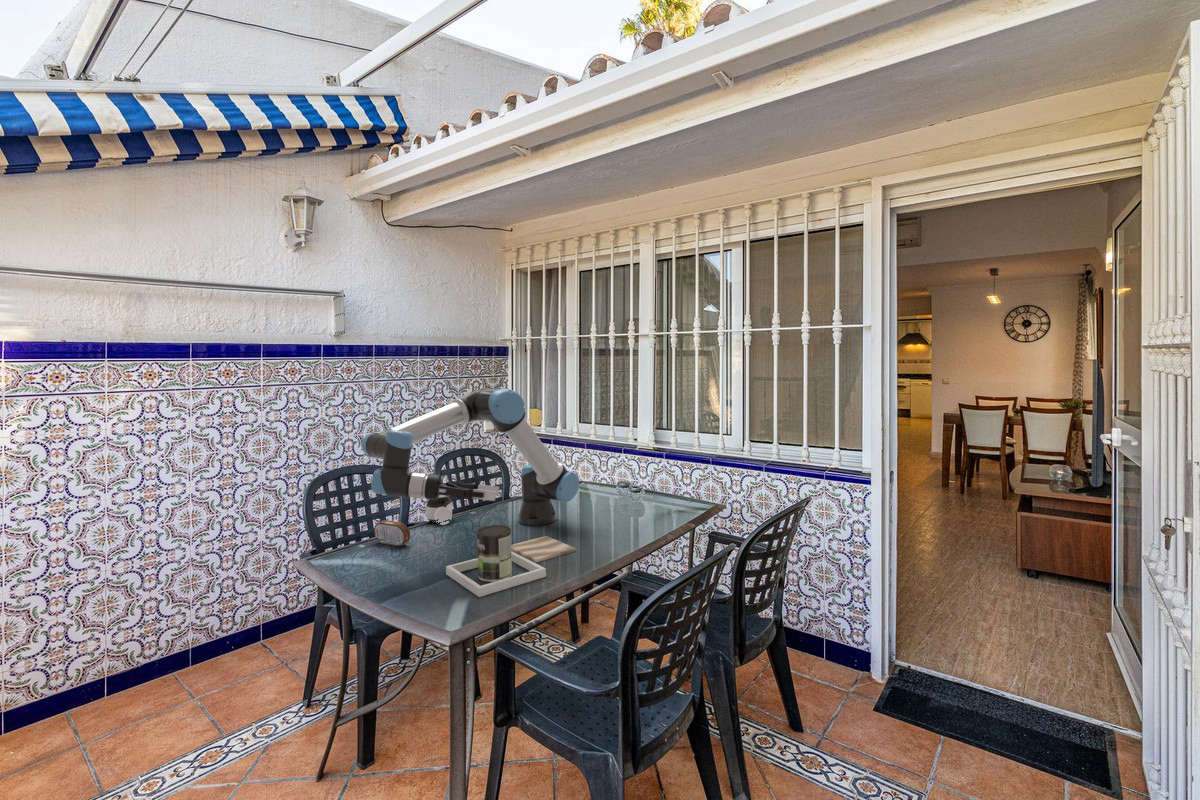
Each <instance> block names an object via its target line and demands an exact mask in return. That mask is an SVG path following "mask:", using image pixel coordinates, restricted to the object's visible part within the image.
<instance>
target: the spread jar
mask: <svg viewBox="0 0 1200 800" xmlns="http://www.w3.org/2000/svg"><path fill="white" fill-rule="evenodd" d="M425 506H426V507H425V511H426V512H425V513H426V519H427V520H428V521H429V522H431V521H435V520H437V519H439V520H438V521H435V522H431V523H432V524H438V523H439V522H442V523H440V524H439V525H441V526H445V525H447V524H449V523H450V522H449V521H446V522H443V521H445V520H448V519H450V520H451V521H452V518H453V504H452V500H451V498H450V496H445V495H440V496H439V498H438V499H437V500H431V499H427V502H426V505H425ZM437 522H438V523H437Z"/></svg>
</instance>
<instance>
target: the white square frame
mask: <svg viewBox="0 0 1200 800" xmlns="http://www.w3.org/2000/svg"><path fill="white" fill-rule="evenodd" d="M511 556H512V563H514V564H516V565H517V566H520V567H522V568H524V569H525V570H527V572H523V573H520V574H516V575H512V576H511V577H509V578H506V579H503V580H499V581H496V582H488V583H486V584H482V585H480V584H478V583H477V582H476V581H474V580H473V579H472V578H470V577H468V576H466V575H465V574H464V573H462V572H466V571H469V570H473V569H476V568H477V569H478V557H477V558H473V559H468V560H465V561H461V562H459V563H458V562H457V563H453V564H450V565H447V566H445V573H446V574H445V575H446V576H448V577H449V578H451V579H452V580H454V581H455V582H457V583H458V584H460V586H462V587H464V588H465V589H467V590H468V591H470V592H471V593H473V594H474V595H475V596H476V597H479V598H481V597H484V596H487V595H491V594H494V593H498V592H500V591H504V590H507V589H510V588H514V587H516V586H520V585H524V584H526V583H530V582H533V581H536V580H541V579H543V578H545V577H547V572H546V571H547V569H546V568H545V567H543V566H541V565H539V564H538V563H537V562H534V561H532V560H530V559H528V558H526V557H524V556H522V555H520V554H518V553H516V552H514V551H512V550H511Z"/></svg>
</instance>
